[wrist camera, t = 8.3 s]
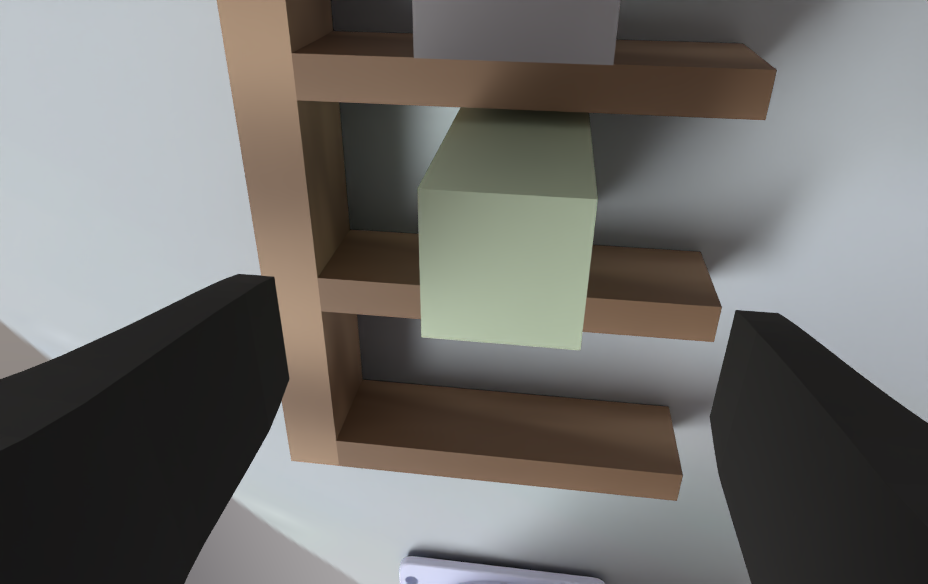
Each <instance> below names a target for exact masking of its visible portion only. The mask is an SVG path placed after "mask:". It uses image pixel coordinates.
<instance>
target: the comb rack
mask: <svg viewBox="0 0 928 584" xmlns="http://www.w3.org/2000/svg"><path fill="white" fill-rule="evenodd" d="M217 5H218V11H219V17H220V23H221V29H222V36H223V42H224V48H225V54H226V60H227V66H228V73H229V79H230V85H231V91H232V97H233V103H234V110H235V116H236V122H237V128H238V134H239V140H240V147H241V153H242V159H243V165H244V171H245V177H246V184H247V190H248V196H249V202H250V208H251V214H252V221H253V227H254V233H255V239H256V245H257V251H258V258H259V264H260V270H261V276H273V277H274V278H275V284H276V291H277V298H278V304H279V311H280V318H281V324H282V331H283V338H284V344H285V351H286V358H287V365H288V371H289V378H290V379H289V382H288V385H287V387H286V390H285V393H284V395H283V398H282V406H283V412H284V418H285V424H286V430H287V436H288V443H289V449H290V455H291V461H298V462H308V463H317V464H327V465H337V466H346V467H356V468H366V469H375V470H385V471H394V472H404V473H414V474H423V475H433V476H443V477H452V478H462V479H471V480H481V481H491V482H500V483H510V484H520V485H529V486H539V487H549V488H558V489H568V490H577V491H587V492H597V493H606V494H616V495H626V496H635V497H645V498H654V499H664V500H674V501H677V498H678V494H679V490H680V485H681V481H682V477H683V474H682V469H681V464H680V459H679V454H678V449H677V444H676V439H675V435H674V430H673V425H672V420H671V415H670V410H669V407H666V406H654V405H643V404H632V403H621V402H609V401H598V400H587V399H576V398H564V397H553V396H542V395H531V394H519V393H508V392H497V391H486V390H474V389H463V388H452V387H441V386H429V385H418V384H407V383H396V382H384V381H373V380H363V378H362V366H361V354H360V343H359V331H358V319H357V314H361V315H374V316H387V317H400V318H413V319H421V303H420V267H419V234H413V233H397V232H382V231H366V230H350V224H349V212H348V200H347V188H346V176H345V165H344V153H343V141H342V129H341V117H340V105H339V102H348V103H372V104H395V105H419V106H443V107H466V108H490V109H514V110H537V111H561V112H584V113H608V114H632V115H655V116H679V117H703V118H726V119H750V120H765V119H766V115H767V111H768V106H769V102H770V98H771V93H772V89H773V85H774V81H775V76H776V72H777V70H776V69H775V68H774V67H772V66H771V65H770V64H769V63H767V62H766V61H765V60H763V59H762V58H761V57H760V56H758V55H757V54H756V53H755V52H753V51H752V50H751V49H749V48H748V47H747V46H746V45H744V44H743V43H711V42H678V41H645V40H616V46H615V55H614V63H613V65H595V64H566V63H538V62H509V61H480V60H452V59H423V58H414V47H413V33H380V32H347V31H333V22H332V10H331V0H217ZM721 309H722V306H721V304H720V301H719V299H718V296H717V293H716V291H715V288H714V286H713V283H712V280H711V278H710V275H709V273H708V270H707V267H706V265H705V262H704V260H703V257H702V255H701V252H695V251H680V250H664V249H648V248H633V247H617V246H601V245H592V254H591V262H590V271H589V280H588V288H587V297H586V306H585V314H584V323H583V332H592V333H605V334H618V335H631V336H644V337H656V338H669V339H682V340H695V341H708V342H714V339H715V335H716V330H717V326H718V322H719V317H720V313H721Z"/></svg>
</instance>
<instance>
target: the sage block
mask: <svg viewBox="0 0 928 584" xmlns="http://www.w3.org/2000/svg"><path fill="white" fill-rule="evenodd" d="M417 194H418V230H419V267H420V303H421V337H424V338H436V339H448V340H460V341H472V342H484V343H497V344H509V345H521V346H533V347H545V348H557V349H569V350H580V349H581V340H582V332H583V323H584V314H585V306H586V297H587V288H588V280H589V271H590V262H591V254H592V245H593V236H594V227H595V219H596V210H597V201H598V197H597V187H596V177H595V168H594V158H593V148H592V138H591V128H590V119H589V113H584V112H561V111H537V110H514V109H490V108H466V107H461V108H460V110H459V112H458V114H457V115H456V117H455V119H454V121H453V123H452V125H451V127H450V129H449V130H448V132H447V134H446V136H445V138H444V140H443V142H442V144H441V145H440V147H439V149H438V151H437V153H436V155H435V157H434V159H433V161H432V162H431V164H430V166H429V168H428V170H427V172H426V174H425V176H424V177H423V179H422V181H421V183H420V185H419V187H418V189H417Z"/></svg>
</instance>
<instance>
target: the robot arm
mask: <svg viewBox="0 0 928 584" xmlns="http://www.w3.org/2000/svg"><path fill="white" fill-rule="evenodd" d="M289 379H290V378H289V371H288V365H287V358H286V351H285V344H284V338H283V331H282V324H281V318H280V311H279V304H278V298H277V291H276V284H275V278H274V277H273V276H259V275H245V274H237V275H234V276H232V277H229V278H226V279H224V280H221V281H219V282H217V283H214V284H212V285H210V286H208V287H206V288H204V289H201V290H199V291H197V292H195V293H193V294H191V295H189V296H187V297H185V298H183V299H181V300H179V301H177V302H175V303H173V304H171V305H169V306H167V307H165V308H163V309H161V310H159V311H157V312H155V313H153V314H151V315H149V316H146V317H144V318H142V319H140V320H138V321H136V322H134V323H132V324H130V325H128V326H126V327H124V328H122V329H119V330H117V331H115V332H113V333H111V334H108V335H106V336H104V337H102V338H100V339H97V340H95V341H93V342H91V343H88V344H86V345H84V346H82V347H80V348H77V349H75V350H73V351H71V352H69V353H66V354H64V355H62V356H59V357H57V358H55V359H52V360H50V361H47V362H45V363H42V364H40V365H37V366H35V367H32V368H30V369H27V370H25V371H22V372H20V373H17V374H14V375H11V376H9V377H6V378H3V379H0V584H184V583H185V581H186V578H187V576H188V574H189V572H190V570H191V568H192V566H193V564H194V562H195V560H196V559H197V557H198V555H199V553H200V551H201V549H202V547H203V545H204V543H205V542H206V540H207V538H208V536H209V535H210V533H211V531H212V530H213V528H214V526H215V525H216V523H217V521H218V519H219V518H220V516H221V514H222V512H223V511H224V509H225V507H226V505H227V504H228V502H229V500H230V499H231V497H232V495H233V494H234V492H235V490H236V488H237V487H238V485H239V483H240V481H241V480H242V478H243V476H244V475H245V473H246V471H247V469H248V468H249V466H250V464H251V462H252V461H253V459H254V457H255V455H256V454H257V452H258V450H259V448H260V446H261V445H262V443H263V441H264V439H265V437H266V436H267V434H268V432H269V430H270V428H271V425H272V423H273V421H274V418H275V416H276V413H277V411H278V409H279V406H280V403H281V401H282V398H283V395H284V393H285V390H286V387H287V385H288V382H289ZM710 422H711V429H712V436H713V443H714V450H715V456H716V462H717V468H718V473H719V477H720V481H721V484H722V488H723V491H724V495H725V498H726V501H727V505H728V508H729V511H730V515H731V518H732V521H733V525H734V528H735V531H736V534H737V538H738V541H739V544H740V547H741V551H742V554H743V557H744V560H745V564H746V567H747V570H748V573H749V577H750V580H751V583H752V584H928V423H927V422H925V421H924V420H923V419H921V418H920V417H918V416H917V415H915V414H914V413H912V412H911V411H909V410H908V409H907V408H905V407H904V406H902V405H901V404H900V403H898V402H897V401H895V400H894V399H893V398H891V397H890V396H888V395H887V394H886V393H884V392H883V391H882V390H880V389H879V388H878V387H876V386H875V385H874V384H872V383H871V382H870V381H868V380H867V379H866V378H864V377H863V376H862V375H860V374H859V373H858V372H856V371H855V370H854V369H853V368H851V367H850V366H849V365H847V364H846V363H845V362H843V361H842V360H841V359H840V358H838V357H837V356H836V355H834V354H833V353H832V352H831V351H829V350H828V349H827V348H825V347H824V346H823V345H822V344H820V343H819V342H818V341H816V340H815V339H814V338H813V337H811V336H810V335H809V334H807V333H806V332H805V331H803V330H802V329H801V328H799V327H798V326H797V325H795V324H794V323H793V322H791V321H790V320H788V319H787V318H785V317H784V316H782V315H780V314H779V313H768V312H755V311H741V310H736V311H735V315H734V320H733V324H732V328H731V332H730V336H729V340H728V344H727V348H726V352H725V357H724V361H723V365H722V369H721V373H720V377H719V381H718V385H717V389H716V394H715V398H714V402H713V406H712V410H711V414H710ZM399 578H400V584H605V583H604V581H602V580H600V579H598V578H594V577H586V576H577V575H569V574H560V573H552V572H543V571H535V570H526V569H518V568H509V567H501V566H492V565H484V564H476V563H467V562H459V561H450V560H442V559H433V558H425V557H416V556H408V557H405V558H403V559H402V560H401V564H400V568H399Z"/></svg>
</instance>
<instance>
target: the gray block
mask: <svg viewBox="0 0 928 584" xmlns="http://www.w3.org/2000/svg"><path fill="white" fill-rule="evenodd" d="M620 2H621V0H412V12H413V47H414V58H423V59H452V60H480V61H509V62H538V63H566V64H595V65H613V63H614V55H615V46H616V37H617V28H618V20H619V11H620Z"/></svg>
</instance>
